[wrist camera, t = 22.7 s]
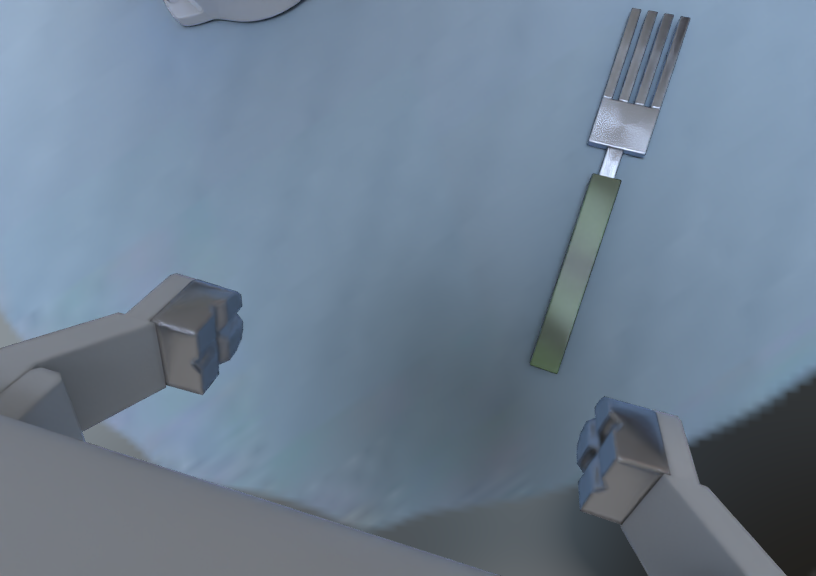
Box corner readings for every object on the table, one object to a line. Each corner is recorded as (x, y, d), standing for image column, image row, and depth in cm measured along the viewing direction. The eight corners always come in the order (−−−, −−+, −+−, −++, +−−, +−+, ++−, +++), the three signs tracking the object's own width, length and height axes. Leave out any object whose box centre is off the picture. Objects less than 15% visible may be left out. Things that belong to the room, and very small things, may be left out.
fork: (569, 376, 33) (571, 379, 32) (516, 358, 34) (516, 360, 32) (686, 24, 32) (692, 14, 31) (629, 14, 33) (633, 4, 32)
